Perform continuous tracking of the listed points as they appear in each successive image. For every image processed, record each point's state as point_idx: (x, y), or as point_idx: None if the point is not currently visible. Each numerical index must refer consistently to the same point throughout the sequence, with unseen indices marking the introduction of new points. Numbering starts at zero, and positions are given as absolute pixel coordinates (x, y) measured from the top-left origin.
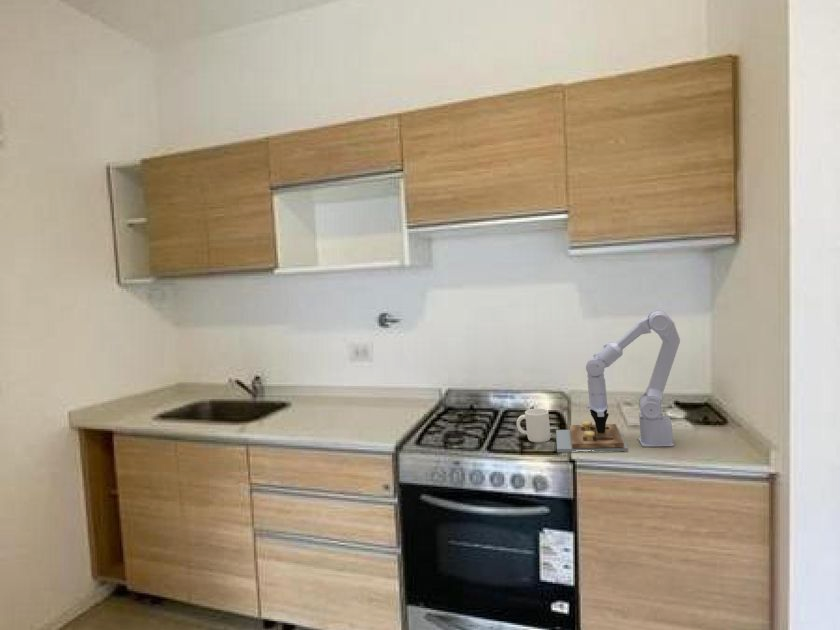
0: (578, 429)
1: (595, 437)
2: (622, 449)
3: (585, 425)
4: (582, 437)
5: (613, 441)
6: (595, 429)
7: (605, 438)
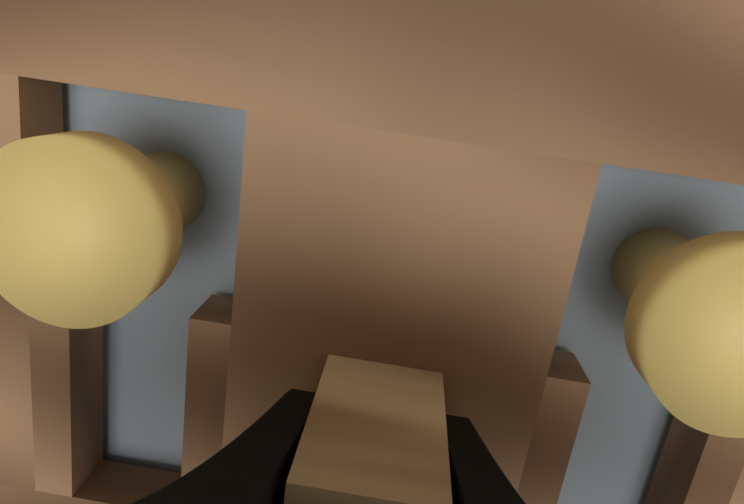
0: (700, 123)
1: (237, 308)
2: None
3: (653, 279)
4: (214, 99)
5: (8, 478)
6: None
7: (191, 424)
